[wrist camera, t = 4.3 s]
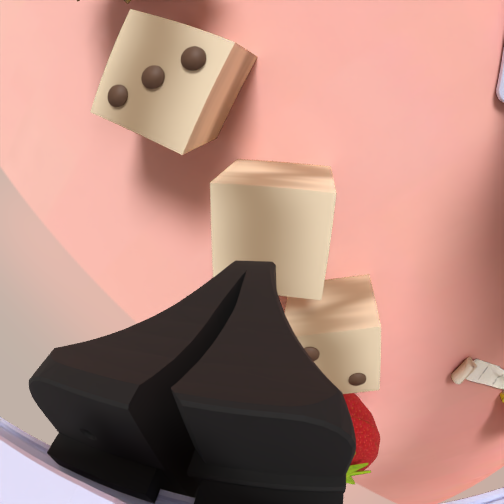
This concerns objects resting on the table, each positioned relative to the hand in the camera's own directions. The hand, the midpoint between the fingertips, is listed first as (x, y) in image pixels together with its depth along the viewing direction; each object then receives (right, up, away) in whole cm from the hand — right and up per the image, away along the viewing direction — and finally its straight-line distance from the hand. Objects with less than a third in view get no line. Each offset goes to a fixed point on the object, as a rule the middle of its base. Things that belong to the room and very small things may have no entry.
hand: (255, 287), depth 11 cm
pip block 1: (-3, +10, +5) cm, 12 cm away
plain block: (+2, +4, +7) cm, 8 cm away
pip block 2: (+5, -3, +10) cm, 11 cm away
